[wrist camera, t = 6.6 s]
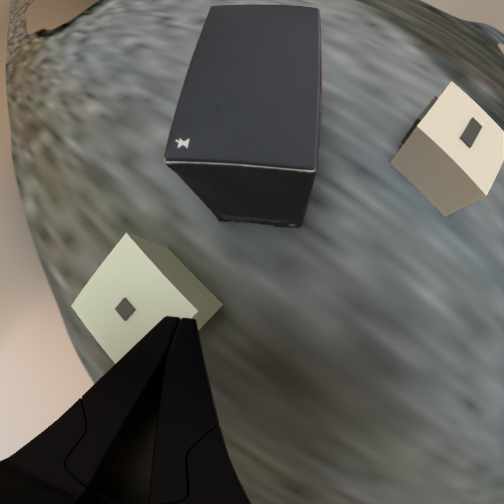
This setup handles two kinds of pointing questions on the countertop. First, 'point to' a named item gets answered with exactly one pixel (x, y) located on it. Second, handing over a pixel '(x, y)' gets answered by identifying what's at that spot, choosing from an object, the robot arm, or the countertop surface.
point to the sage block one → (140, 295)
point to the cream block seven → (452, 152)
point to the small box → (251, 113)
